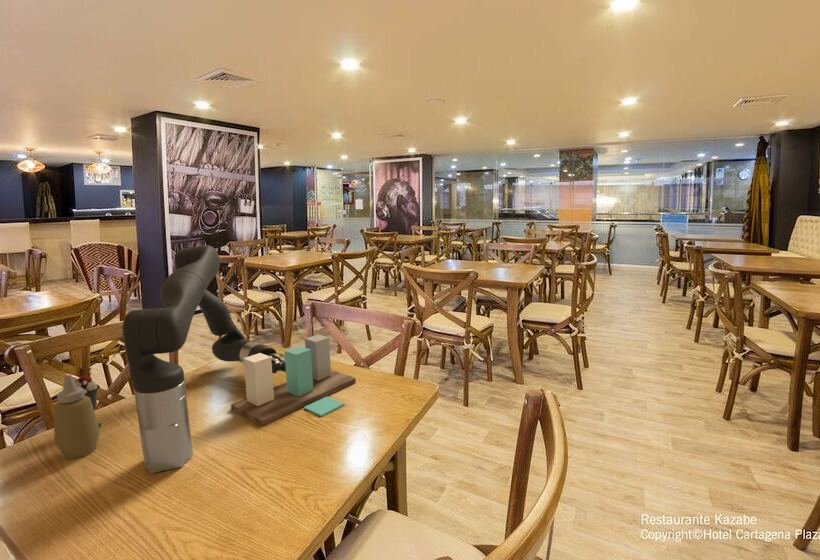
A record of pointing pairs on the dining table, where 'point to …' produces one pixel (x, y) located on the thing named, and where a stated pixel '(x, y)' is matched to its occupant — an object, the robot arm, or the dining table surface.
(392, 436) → the dining table surface
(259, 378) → the cream tall rectangular block
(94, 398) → the sundae
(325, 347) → the tall grey rectangular prism
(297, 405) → the dark wooden board
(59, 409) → the squeeze bottle
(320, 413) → the pad
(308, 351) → the tall teal pillar
